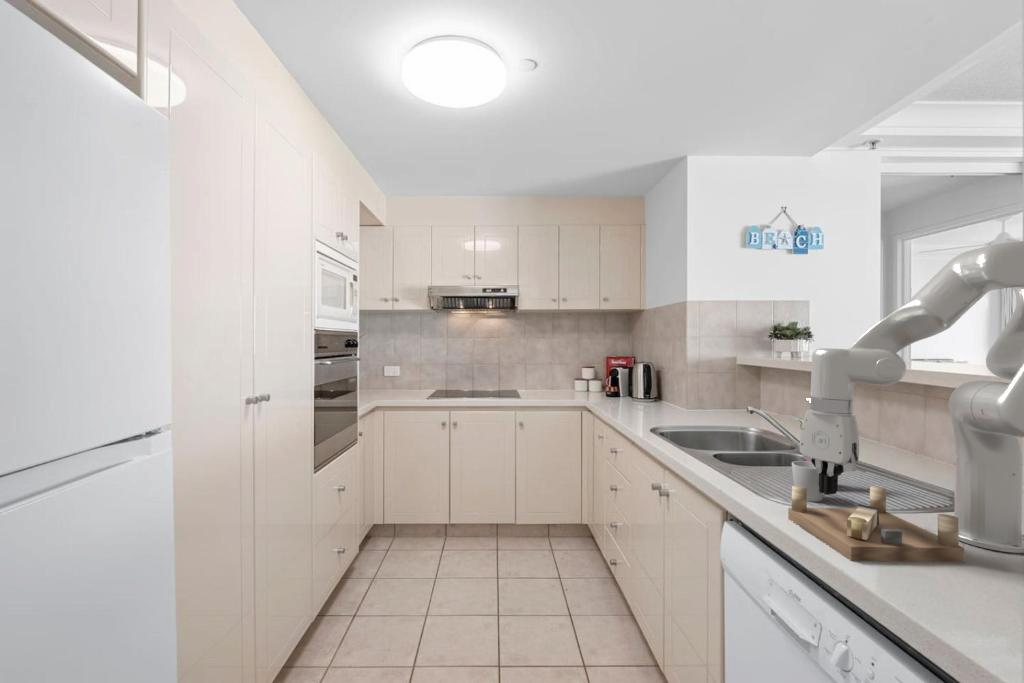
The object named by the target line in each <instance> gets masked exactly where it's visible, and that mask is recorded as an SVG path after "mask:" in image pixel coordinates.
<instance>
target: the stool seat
mask: <svg viewBox="0 0 1024 683" xmlns="http://www.w3.org/2000/svg"><path fill="white" fill-rule="evenodd" d="M869 506H871V507H876V508H879V525H877V526H876V527H875V529H874V530H873V532H872V533H871V535H870V536H869V537H868V539H867V540H864V539H857V538H854V537H851V536H847V519H848V518H849V517H850V516H851V515H852V513H853V512H854V511H855V510H856V509H857V508H858V507H857V508H854V507H853V508H852V507H851V508H848V507H847V508H846V507H845V508H843V507H841V508H839V507H838V508H836V507H835V508H834V507H833V508H831V507H827V508H825V507H823V508H822V507H808V501H807V488H806V487H802V486H794V485H792V486H791V507H788V510H787V511H788V515H787V516H788V520H789V521H790V520H791V522H792V521H793V522H794V523H793V522H792V523H793V524H795V523H796V524H797V525H796V524H795V525H796V526H798V525H799V526H800V527H799V526H798V527H799V528H801V527H802V528H801V529H803V530H804V529H805V530H804V531H805V532H807V533H809V534H810V535H811V536H813V537H814V538H816V539H817V540H819V539H820V540H819V541H821V542H822V541H823V542H822V543H823V544H825V543H826V544H825V545H827V546H828V545H829V546H828V547H830V548H831V547H832V548H831V549H833V550H834V549H835V550H834V551H836V552H837V553H839V554H840V555H842V556H843V557H844V558H846V559H848V560H849V561H852V562H859V561H860V562H938V563H939V562H941V563H942V562H943V563H944V562H945V563H951V562H952V563H955V562H956V563H963V562H965V547H964V546H961V545H959V540H958V538H959V519H958V518H957V517H955V516H954V515H951V514H947V513H946V514H945V513H939V514H937V534H935V533H934V532H931V531H929V530H927V529H924V528H922V527H920V526H917V525H916V524H914V523H911V522H910V521H907V520H905V519H902V518H901V517H899V516H897V515H895V514H892V513H890V512H888V511H887V488H885V487H881V486H877V485H871V486H869Z"/></svg>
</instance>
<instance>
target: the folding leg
mask: <svg viewBox="0 0 1024 683" xmlns="http://www.w3.org/2000/svg"><path fill="white" fill-rule="evenodd" d="M877 525H879V508H876V507H871V506H870V505H866V504H865V505H864V504H862V503H861V504H860V503H858V506H857V509H856V510H855V511H854V512H853V513H852V515H851V516H850V517H849V518H848V519H847V536H851V537H854V538H857V539H864V540H867V539H868V537H869V536H870V535H871V533H872V532H873V530H874V529H875V527H876V526H877Z"/></svg>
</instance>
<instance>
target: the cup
mask: <svg viewBox="0 0 1024 683" xmlns="http://www.w3.org/2000/svg"><path fill="white" fill-rule="evenodd" d="M791 470H792V471H791V472H792V478H793V486H802V487H806V488H807V502H813V503H814V502H815V503H817V502H818V503H819V502H822V501H823V498H824V493H820V492H819V473H817V471H816V467H815V466H814V465H813V463H812V462H809V461H806V460H795V461H792V462H791Z"/></svg>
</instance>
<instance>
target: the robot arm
mask: <svg viewBox="0 0 1024 683" xmlns="http://www.w3.org/2000/svg"><path fill="white" fill-rule="evenodd" d="M1008 288H1009V289H1013V291H1014V293H1015V296H1016V305H1015V308H1014V311H1013V313H1012V315H1011V317H1010V318H1009V320H1008V322H1007V323H1006V324H1005V326H1004V328H1003V329H1002V331H1001V332H1000V333H999V335H998V337H997V338H996V340H995V341H994V342H993V344H992V345H991V347H990V348H989V350H988V352H987V354H986V357H985V364H986V367H987V369H988V371H989V372H990V373H991V374H992V375H994V376H996V377H999V378H1001V379H1004V380H1009V383H1008V382H1003V381H1002V382H1001V381H992V380H975V381H973V380H972V381H969V382H965V383H963V384H961V385H959V386H957V387H955V389H954V390H953V392H952V393H951V395H950V397H949V399H948V412H949V416H950V420H951V426H952V429H953V438H954V439H953V440H954V441H953V442H954V475H953V476H954V479H953V480H954V481H953V482H954V489H953V490H954V492H953V493H954V496H953V497H954V501H953V502H954V511H953V512H954V514H953V516H955V517H957V518H958V519H959V538H958V542H963V543H965V544H968V545H971V546H976V547H977V548H978V547H979V548H983V549H987V550H991V551H996V552H997V551H998V552H1003V553H1014V554H1024V536H1023V453H1022V452H1023V451H1022V447H1021V443H1020V440H1019V438H1024V240H1019V241H1018V240H1017V241H1008V242H1002V243H1001V242H1000V243H995V244H990V245H987V246H982V247H979V248H975V249H971V250H967V251H964V252H961V253H959V254H958V255H956V256H955V257H953V258H952V259H951V260H950V261H948V262H947V263H946V264H945V265H944V266H943V267H942V268H941V269H940V270H939V271H938V272H937V273H936V274H934V275H933V277H932V278H930V280H928V282H926V284H924V285H923V286H922V287H921V289H919V290H918V291H917V292H916V293H915V294H914V295H913V296H912V297H911V298H909V300H908V301H906V302H905V303H904V304H902V305H901V306H899V307H898V308H897V309H895V310H894V311H892V312H891V313H890V314H888V315H887V316H886V317H884V318H882V319H881V320H879V322H877V323H876V324H874V325H873V326H871V327H870V328H869V329H867V330H866V331H865V332H864V333H863V334H862V335H860V337H858V338H857V339H856V340H855V341H854V342H853V343H852V344H851V345H850V346H849V347H848V348H847V349H846V348H830V347H829V348H827V347H826V348H823V347H822V348H821V347H820V348H816V349H815V350H814V351H813V352H812V354H811V370H810V371H811V375H810V396H809V397H807V398H806V400H805V403H806V404H807V405H809V409H806V411H805V413H804V416H803V420H802V425H801V432H800V439H799V452H800V453H801V454H802V455H803V456H802V458H803V459H804V460H805V461H806V460H808V461H810V462H812V463H813V465H814V466H815V467H816V471H817V473H819V492H820V493H823V495H826V496H828V495H834V494H837V491H838V487H839V485H838V483H839V476H841V475H842V474H843V473H844V472H855V471H858V466H857V463H858V461H859V457H860V438H859V437H860V436H859V428H858V427H859V426H858V422H857V418H856V415H853V413H854V412H853V410H854V390H855V389H854V387H855V386H854V385H855V383H859V384H867V385H870V386H877V387H886V386H891V385H894V384H896V383H899V381H901V380H902V379H903V378H904V376H905V375H906V372H907V365H906V362H905V361H904V359H903V358H902V357H901V356H900V355H899V354H898V353H899V352H900V351H902V350H903V349H904V348H906V347H908V346H911V344H914V343H916V342H920V341H922V340H925V339H928V338H931V337H933V336H936V335H939V334H940V333H942V332H944V331H947V330H949V328H951V327H952V326H953V325H955V324H956V322H958V320H960V318H962V316H964V315H965V314H966V313H967V312H968V311H969V310H970V309H971V308H972V307H973V306H974V305H976V303H977V302H979V301H980V300H981V299H982V298H983V297H984V296H985V295H986V294H987V293H988V292H991V291H994V290H995V291H996V290H1002V289H1008Z"/></svg>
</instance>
